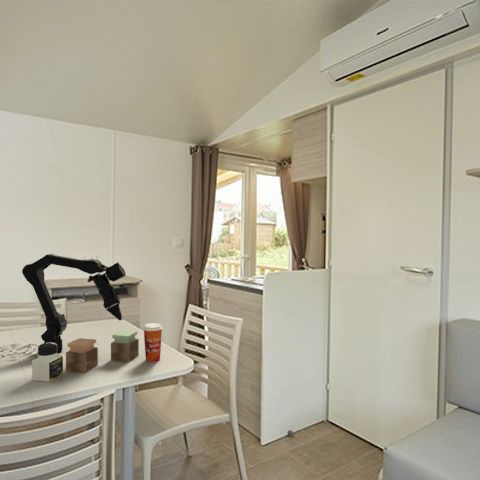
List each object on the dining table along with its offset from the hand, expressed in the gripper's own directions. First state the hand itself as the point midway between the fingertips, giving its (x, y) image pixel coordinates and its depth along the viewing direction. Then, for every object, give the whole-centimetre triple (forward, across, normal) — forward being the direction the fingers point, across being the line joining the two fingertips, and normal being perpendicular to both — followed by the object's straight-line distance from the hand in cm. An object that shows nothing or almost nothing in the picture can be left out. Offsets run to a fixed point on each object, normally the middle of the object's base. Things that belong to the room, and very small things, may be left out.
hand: (120, 318), depth 164 cm
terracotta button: (+6, -16, +18) cm, 25 cm away
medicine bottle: (+4, -22, +29) cm, 37 cm away
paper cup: (+20, -14, -4) cm, 24 cm away
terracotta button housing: (+8, -16, +19) cm, 26 cm away
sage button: (+12, -9, +4) cm, 15 cm away
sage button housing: (+14, -8, +5) cm, 17 cm away
